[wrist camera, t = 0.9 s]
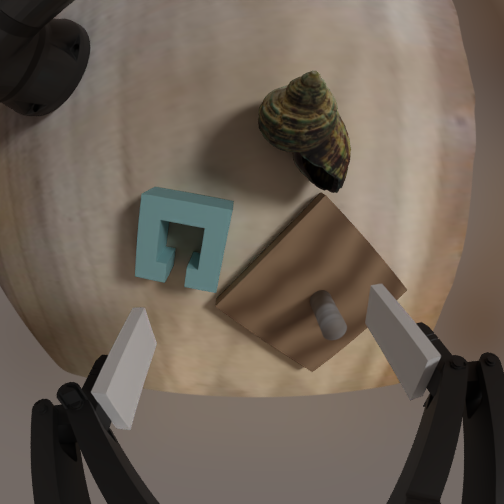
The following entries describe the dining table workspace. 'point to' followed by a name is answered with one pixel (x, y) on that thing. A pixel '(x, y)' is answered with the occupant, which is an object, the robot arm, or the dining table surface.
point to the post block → (310, 286)
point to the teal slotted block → (189, 213)
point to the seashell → (308, 129)
